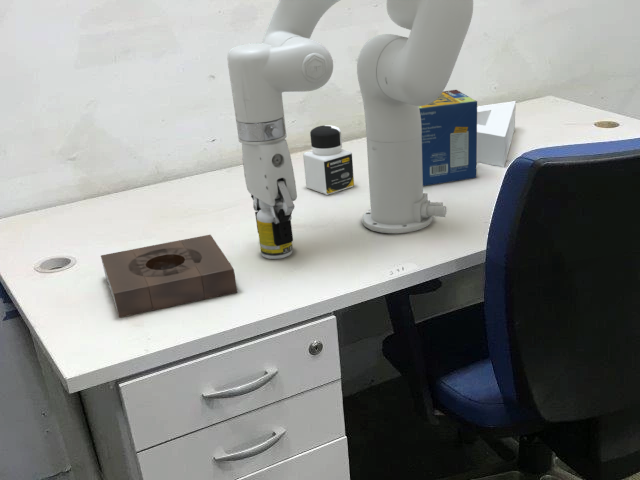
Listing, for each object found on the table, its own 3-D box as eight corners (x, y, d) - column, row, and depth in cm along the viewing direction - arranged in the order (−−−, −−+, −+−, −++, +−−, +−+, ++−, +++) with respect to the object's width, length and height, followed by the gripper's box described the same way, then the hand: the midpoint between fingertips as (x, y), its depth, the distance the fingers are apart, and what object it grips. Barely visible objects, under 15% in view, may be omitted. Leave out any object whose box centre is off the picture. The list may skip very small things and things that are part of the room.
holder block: (214, 256, 143) (210, 234, 141) (237, 292, 130) (233, 268, 128) (106, 278, 137) (100, 255, 135) (119, 317, 125) (113, 293, 122)
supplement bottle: (288, 260, 140) (281, 203, 134) (257, 259, 141) (249, 203, 136) (297, 247, 144) (291, 192, 139) (267, 246, 145) (259, 191, 140)
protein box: (389, 174, 176) (386, 98, 168) (458, 164, 179) (458, 88, 171) (406, 189, 167) (403, 109, 159) (477, 178, 171) (478, 99, 163)
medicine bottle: (327, 195, 166) (321, 134, 160) (305, 187, 171) (299, 128, 165) (354, 186, 170) (350, 126, 164) (333, 179, 175) (328, 120, 169)
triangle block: (396, 145, 194) (395, 117, 190) (464, 119, 210) (464, 93, 206) (504, 167, 176) (505, 136, 173) (569, 137, 192) (571, 109, 189)
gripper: (308, 135, 127) (319, 247, 136) (259, 114, 139) (272, 218, 149) (263, 145, 124) (278, 259, 133) (217, 123, 136) (233, 228, 146)
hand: (275, 237), depth 141 cm, fingers closed on supplement bottle, 5 cm apart
